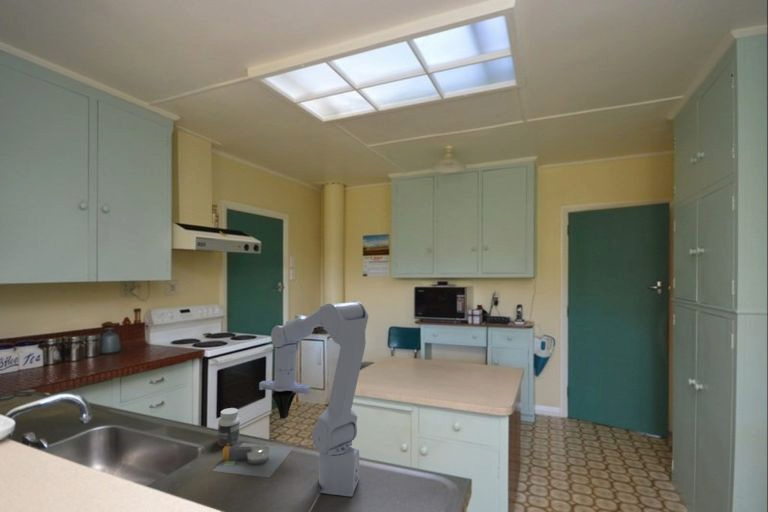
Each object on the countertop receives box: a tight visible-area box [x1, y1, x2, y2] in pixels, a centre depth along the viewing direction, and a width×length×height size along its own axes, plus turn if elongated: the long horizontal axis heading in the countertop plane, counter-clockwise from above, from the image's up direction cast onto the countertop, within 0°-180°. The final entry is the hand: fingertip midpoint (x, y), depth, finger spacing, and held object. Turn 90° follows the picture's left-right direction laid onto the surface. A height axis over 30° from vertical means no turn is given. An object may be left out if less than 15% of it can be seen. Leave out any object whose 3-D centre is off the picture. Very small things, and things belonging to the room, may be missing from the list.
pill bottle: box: [217, 407, 241, 447], centre depth 112 cm, size 6×6×10 cm
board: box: [212, 442, 294, 479], centre depth 103 cm, size 15×15×1 cm
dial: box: [222, 444, 269, 465], centre depth 102 cm, size 6×12×3 cm, turn 92°
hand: (284, 417), depth 108 cm, fingers closed
